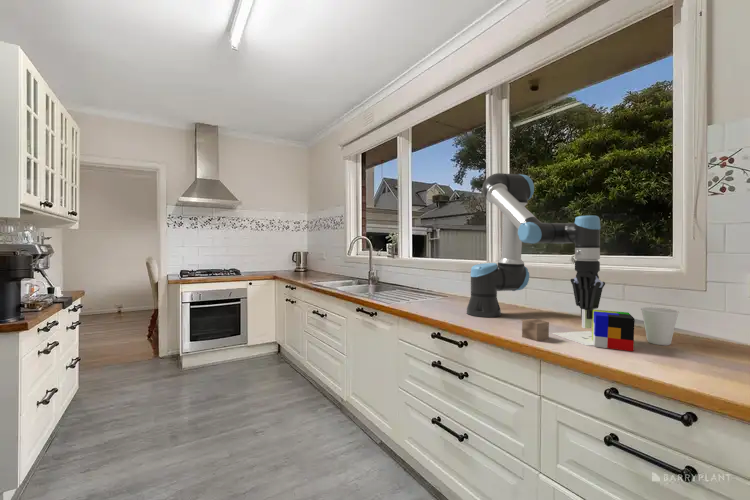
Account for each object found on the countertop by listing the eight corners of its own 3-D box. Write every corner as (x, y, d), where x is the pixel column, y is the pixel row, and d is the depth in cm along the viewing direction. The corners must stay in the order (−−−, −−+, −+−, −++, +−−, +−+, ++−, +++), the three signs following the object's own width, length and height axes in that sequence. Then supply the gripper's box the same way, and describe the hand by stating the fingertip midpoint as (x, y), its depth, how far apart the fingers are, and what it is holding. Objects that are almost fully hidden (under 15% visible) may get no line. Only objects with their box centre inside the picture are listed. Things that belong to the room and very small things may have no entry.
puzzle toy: (594, 346, 113) (595, 315, 113) (591, 338, 122) (592, 309, 122) (633, 351, 109) (634, 318, 108) (627, 342, 118) (628, 312, 117)
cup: (669, 349, 112) (669, 313, 111) (633, 341, 120) (634, 308, 120) (684, 345, 116) (685, 311, 116) (649, 337, 125) (650, 306, 125)
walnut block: (522, 337, 125) (522, 320, 125) (533, 335, 128) (533, 318, 128) (536, 341, 120) (537, 323, 120) (548, 339, 123) (548, 321, 123)
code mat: (552, 333, 130) (552, 333, 130) (589, 331, 134) (589, 330, 134) (587, 345, 115) (587, 345, 115) (628, 343, 118) (628, 342, 118)
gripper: (564, 259, 130) (563, 324, 131) (593, 261, 118) (592, 332, 118) (581, 259, 132) (581, 323, 132) (612, 260, 119) (611, 331, 120)
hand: (586, 327), depth 125 cm, fingers closed
